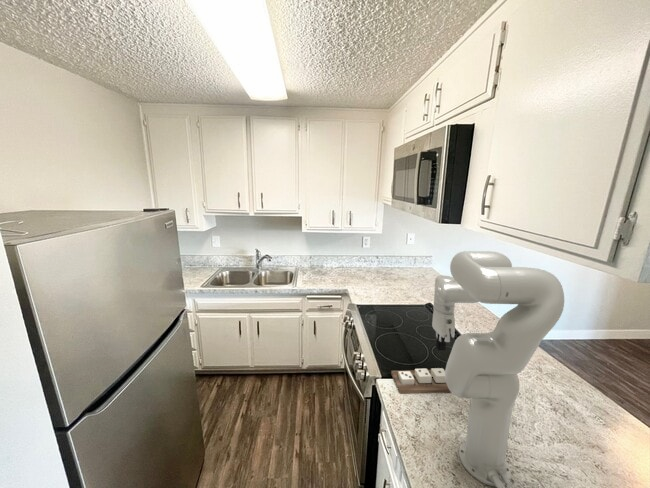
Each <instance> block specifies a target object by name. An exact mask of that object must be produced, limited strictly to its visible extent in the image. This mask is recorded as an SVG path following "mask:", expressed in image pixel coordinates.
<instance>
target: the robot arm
mask: <svg viewBox="0 0 650 488" xmlns="http://www.w3.org/2000/svg"><path fill="white" fill-rule="evenodd" d="M449 268H450V274H451V276H450V275H438V276H436V278H435V280H434V294H433V295H434V297H433V312H432V322H431V325H432V328H433V330H434V331H435V338H436V344H435V345H436V346H435V348H436V350H437V351H446V348H447V343H451V338H452V339H454V338H455V335H456V333H455V332H456V328H455V327H456V320H455V314H454V313H455V306H456V305H455V304H476V303H482V304H488V305H516V306H514V307H513V308H512V309H510V310H508V311H507V312H505V313H504V314H503V315H502V316H501V317H500V318H499V319H498V321H497V323H496V325H495V327H494V329H493V330H492V331H491V332H484V333H483V332H470V333H469V332H468V333H462V334H461V335H459V336H458V337H457V338H456V339H455V341H454V343H453V345H452V349H451V350H450V354H449V357H448V359H447V362H446V366H445V369H444V370H445V379H446V383H445V384H447V386H448V388H449V390H450V391H451V392H452V394H453V395H454V396H455V397H458V398H461V399H470V401H469V408H468V418H467V419H468V421H467V427H466V428H467V430H466V441H464V442H462V444H460V447H459V449H458V450H459V451H458V456H459V460H460V462H461V464H462V466H463V467H464V468H465V470H466V471H467V473H469V474H470V475H471V476H472V477H474V478H475V480H478V481H480V482H481V483H482V484H485V485H487V486H491V487H496V488H512V487H513V484H512V482H511V476H512V472H511V467H510V465H509V463H508V461H507V460H506V458H507V457H506V456H507V450H508V449H507V448H508V441H509V435H510V434H509V433H510V426H511V417H512V412H513V408H514V406H515V402H516V400H517V398H518V396H519V393H520V385H521V384H520V379H519V374H520V373H522V371H523V370H525V368H526V367H527V366H528V364H529V362H530V361H531V359H532V358H533V356H534V355H535V353H536V351H537V349H538V348H539V346H540V345H541V342H542V341H543V340H544V338H545V337H546V336H547V335H548V334H549V332H551V330H552V329H553V328H554V327H555V326H556V325H557V323H558V321H559V320H560V319H561V317H562V313H563V312H564V308H565V294H564V293H565V292H564V289H563V285H562V283H561V281H560V280H559V278H558V277H557V276H556V275H554V274H553V273H551V272H549V271H547V270H545V269H541V268H535V267H526V266H523V267H521V266H520V267H519V266H513V264H512V261H511V260H510V258H509V257H508V256H507V255H505V254H504V253H501V252H498V251H489V250H488V251H486V250H485V251H483V250H482V251H480V250H479V251H478V250H477V251H476V250H475V251H473V250H472V251H471V250H468V251H467V250H465V251H460V252H457V253H456V254H455V255H454V256H453V257H452V258H451V261H450V265H449Z"/></svg>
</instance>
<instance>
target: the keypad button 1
mask: <svg viewBox="0 0 650 488" xmlns="http://www.w3.org/2000/svg"><path fill="white" fill-rule="evenodd" d="M430 370H431V376H432V377H433V378H432V380H433V381H434V383H435V384H446V379H445V370H446V369H444V368H443V367H441V368H440V367H437V368H436V367H435V368H430Z"/></svg>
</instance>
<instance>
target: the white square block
mask: <svg viewBox="0 0 650 488" xmlns="http://www.w3.org/2000/svg"><path fill="white" fill-rule="evenodd" d="M397 371H398V379H399V381H400V383H401V385H414V377H413V376H412V374H411V372H410V371H404V370H397Z"/></svg>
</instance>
